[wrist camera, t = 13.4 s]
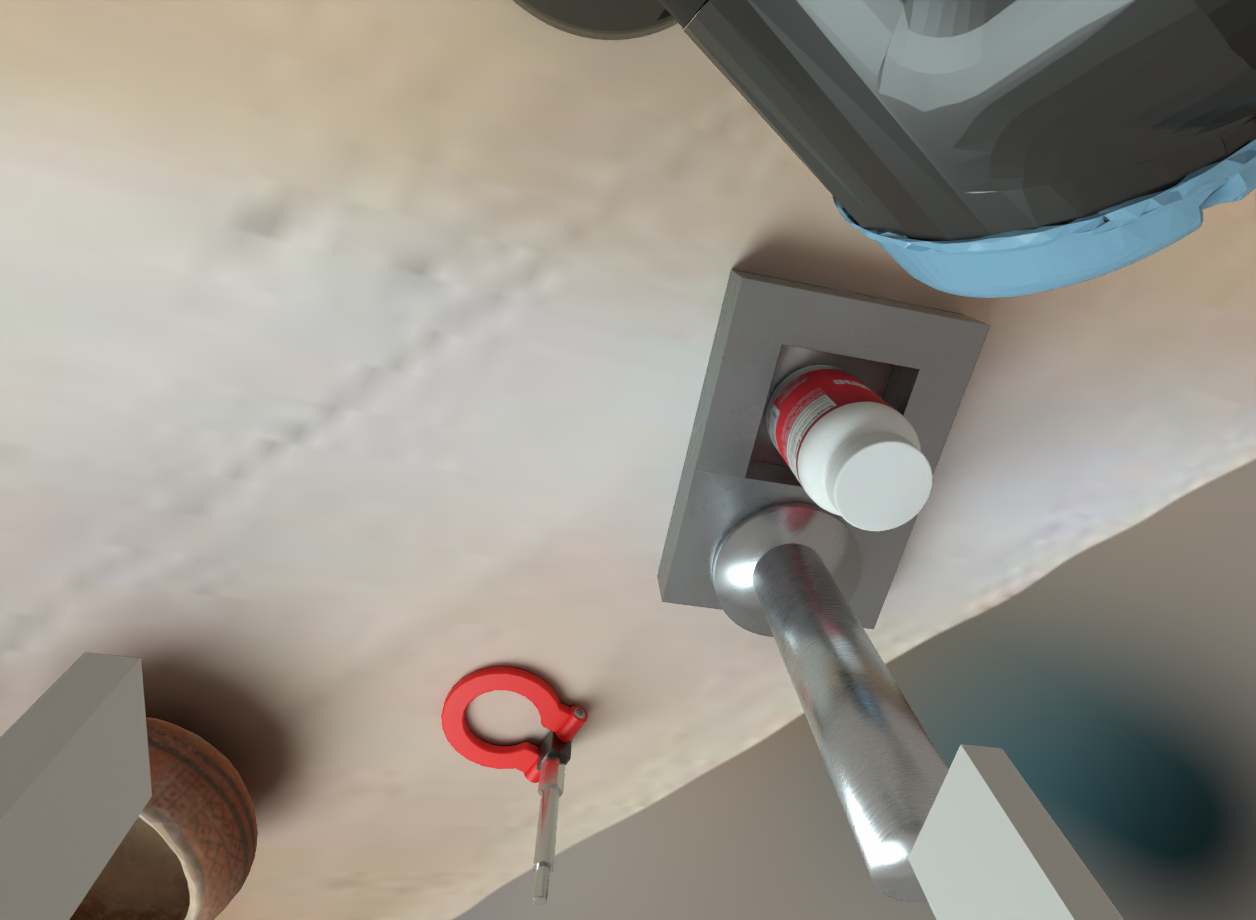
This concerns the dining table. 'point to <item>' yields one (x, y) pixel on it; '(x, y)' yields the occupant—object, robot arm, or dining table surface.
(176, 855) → the bowl
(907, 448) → the pill bottle
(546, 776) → the tow hook
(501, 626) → the dining table surface
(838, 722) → the rosette post
